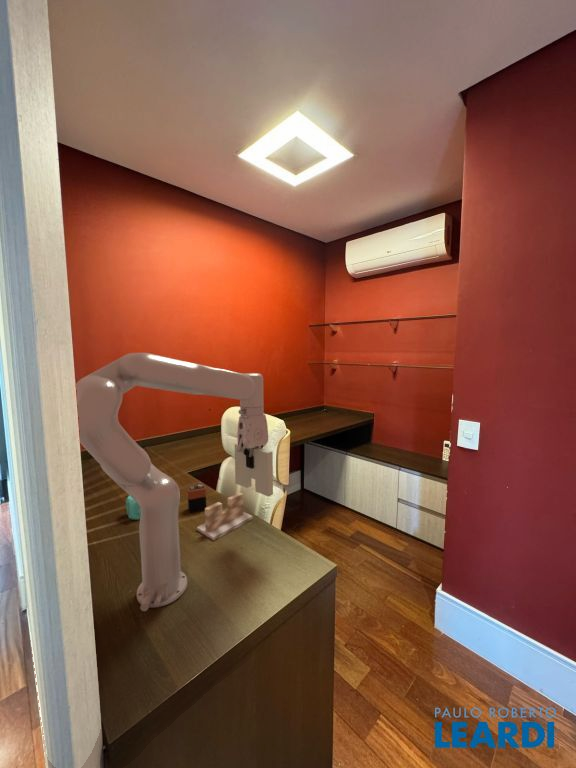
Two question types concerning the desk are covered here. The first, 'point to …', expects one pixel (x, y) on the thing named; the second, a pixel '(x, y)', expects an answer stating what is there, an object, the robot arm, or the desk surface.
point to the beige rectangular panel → (255, 470)
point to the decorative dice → (132, 508)
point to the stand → (224, 518)
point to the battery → (196, 498)
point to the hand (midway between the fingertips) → (252, 466)
